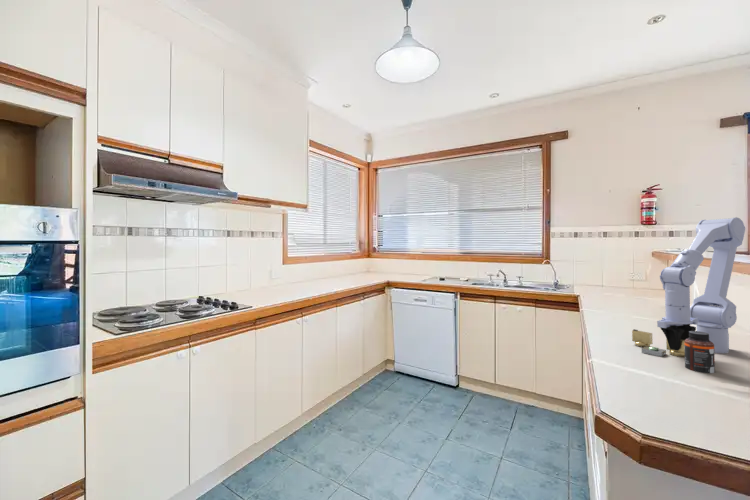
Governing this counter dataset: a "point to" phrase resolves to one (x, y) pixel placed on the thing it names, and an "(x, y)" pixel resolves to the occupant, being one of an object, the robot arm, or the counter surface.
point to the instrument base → (654, 351)
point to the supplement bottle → (699, 352)
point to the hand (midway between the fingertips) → (678, 349)
